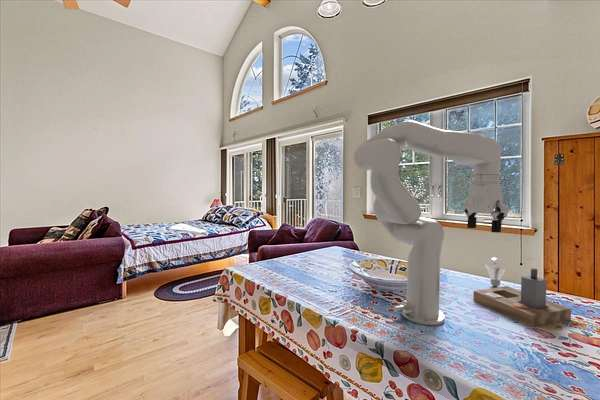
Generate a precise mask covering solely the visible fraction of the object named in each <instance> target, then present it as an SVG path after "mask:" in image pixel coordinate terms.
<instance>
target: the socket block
mask: <svg viewBox="0 0 600 400" xmlns="http://www.w3.org/2000/svg"><path fill="white" fill-rule="evenodd" d="M473 301H475V303H479V304H481V305H483V306H485V307H488V308H490V309H492V310H494V311H496V312H499V313H500V314H503V315H505V316H507V317H509V318H511V319H514V320H515V321H519V322H520V323H522V324H525V325H527V326H529V327H531V328H535V327H536V328H537V327H539V326H545V325H550V324H551V325H552V324H555V323H561V322H565V321H566V322H567V321H570V320H572V319H571V318H572V308H571V307H568V306H566V305H562V304H559V303H556V302H555V301H551V300H548V299H546V308H543V309H537V310H536V309H533V308H531V307H528V306H526V305H523V304H521V289H517V288H514V287H510V286H508V285H505V286H497V287H491V288H485V289H484V288H483V289H476V290H473Z"/></svg>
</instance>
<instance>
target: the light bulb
mask: <svg viewBox="0 0 600 400" xmlns="http://www.w3.org/2000/svg"><path fill="white" fill-rule="evenodd" d="M485 269H486V271H487V272H488V275H489V278H490V284H491V286H493V288H497V287H500V285H501V280H502V277H503V275H504V274H505V273H506V271H507V264H506V263H505V261H504V260H503V259H501V258H499V257H491V258H489V259H487V260H486V262H485Z"/></svg>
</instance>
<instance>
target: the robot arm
mask: <svg viewBox="0 0 600 400" xmlns="http://www.w3.org/2000/svg"><path fill="white" fill-rule="evenodd" d="M403 150H405V151H406V150H407V151H410V152H416V153H419V154H423V155H426V156H429V157H434V158H451V161H453V162H454V163H455V164H456V165H459V166H469V165H473V177H472V178H471V180H472V184H470V186H469V190H468V196H467V202H465V203H464V204H463V205H462V207H463V208H464V213H465V214H466V217H467V224H466V225H467V229H476V228H477V216H476V215H478V214H483V215H484V214H485V215H490V216H491V217H492V220H491V228H490V229H491V232H492V233H501V231H502V221H504V219H505V218H506V217H507V216H508V213H509V212H510V210H511V208H510V207H509V206H508V205H506V204H505V203H503V193H502V187H501V184H500V174H501V159H502V157H501V155H502V147H501V144H499V143H498V141H497V140H496V139H494V138H492V137H490V136H487V135H485V134H484V135H483V134H480V133H475V132H467V131H465V132H464V131H456V130H445V129H441V128H438V127H434V126H431V125H428V124H425V123H422V122H419V121H416V120H404V121H401V122H397V123H395V124H391V125H388V126H387V127H385V128H383V129H381V130H380V131H379V132H378V133H376V134H374V135H373V136H372V137H370V138H369V139H366V140H365V141H364V142H362V143H361V144H360V145H358V147H357V148H356V149H355V150H354V154H353V160H354V163H355V165H356V166H357V167H358V169H360V170H362V171H370V173H371V174H370V188H371V191H372V193H373V195H374V196H375V197H376V198H375V199H374V202H373V213H374V215H375V217H376V219H377V221H379V223H380V224H381V225H382V226H383V227H384V228H385V230H386V231H387V232H388V233H389V234H390V235H391V237H393V238H394V239H395V241H398V242H400V243H402V244H406V245H409V246H410V245H411V247H412V248H411V250H410V251H409V253H408V255H407V256H408V257H407V261H406V267H407V268H406V299H405V300H403V303H402V304H401V305H394V306H392V307H393V311H394V313H401V315H402V316H403V317H404V319H407V320H408V321H410V322H412V323H416V324H419V325H424V326H425V325H426V326H437V325H441V324H442V323H444V322H445V314H444V313H443V312H442V311H441V310H440V290H441V289H440V286H441V285H440V284H441V283H440V282H441V281H440V280H441V277H440V275H441V254H442V247H443V243H444V240H445V231H444V228H443V226H442V224H441V223H440V222H438V221H437V220H435V219H432V218H429V217H422V208H421V206H420V204H419V202H418V200H417V199H416V198H415V197H414V196H413V194H412V193H411V192H410V191H409V189H407V187H406V186H405V184H404V183H403V182H402V180H401V179H400V176H399V175H400V174H399V166H400V161H401V156H402V152H401V151H403Z"/></svg>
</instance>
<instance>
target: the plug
mask: <svg viewBox="0 0 600 400" xmlns="http://www.w3.org/2000/svg"><path fill="white" fill-rule="evenodd" d="M520 279H521V282H520V283H521V285H520V291H521V304H523V305H526V306H528V307H531V308H533V309H536V310H537V309H543V308H546V300H547V281H548V280H547V279H545V278H541V277H538V269H537V268H533V267H532V268H530V275H526V276H521V278H520Z"/></svg>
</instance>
